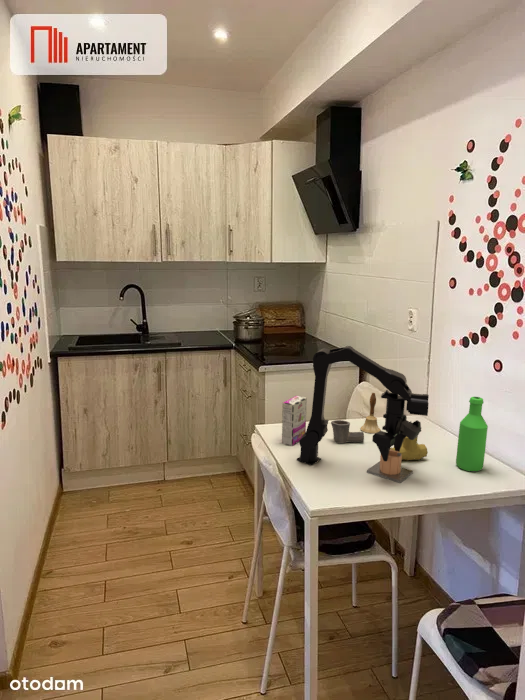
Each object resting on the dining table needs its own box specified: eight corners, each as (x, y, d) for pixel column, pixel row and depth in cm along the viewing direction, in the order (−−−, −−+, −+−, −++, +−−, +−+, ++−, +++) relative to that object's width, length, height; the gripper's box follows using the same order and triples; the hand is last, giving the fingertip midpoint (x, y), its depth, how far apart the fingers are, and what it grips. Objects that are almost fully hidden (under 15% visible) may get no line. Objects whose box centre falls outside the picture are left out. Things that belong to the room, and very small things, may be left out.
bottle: (466, 473, 173) (474, 402, 168) (450, 463, 181) (457, 394, 176) (488, 471, 175) (496, 400, 170) (471, 461, 183) (479, 393, 179)
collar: (376, 470, 172) (378, 451, 170) (385, 464, 177) (386, 446, 175) (395, 476, 168) (396, 456, 166) (403, 470, 173) (404, 450, 171)
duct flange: (400, 483, 165) (401, 466, 164) (366, 472, 172) (367, 456, 171) (412, 472, 173) (414, 456, 171) (379, 463, 180) (381, 447, 179)
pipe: (364, 445, 196) (365, 425, 195) (330, 444, 196) (331, 424, 195) (361, 439, 202) (362, 420, 200) (329, 438, 202) (330, 419, 201)
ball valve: (427, 463, 183) (414, 449, 192) (430, 437, 179) (416, 424, 189) (394, 467, 181) (382, 452, 190) (396, 441, 177) (384, 428, 186)
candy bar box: (294, 434, 205) (296, 395, 202) (305, 437, 202) (307, 397, 199) (280, 443, 196) (282, 401, 192) (292, 446, 193) (293, 404, 190)
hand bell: (383, 429, 214) (386, 392, 211) (376, 435, 207) (379, 396, 204) (364, 425, 218) (367, 388, 215) (357, 430, 211) (359, 393, 208)
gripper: (406, 424, 156) (402, 472, 159) (429, 410, 170) (425, 455, 173) (373, 416, 163) (370, 463, 166) (397, 403, 177) (394, 446, 180)
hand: (391, 456), depth 171 cm, fingers open, 9 cm apart
